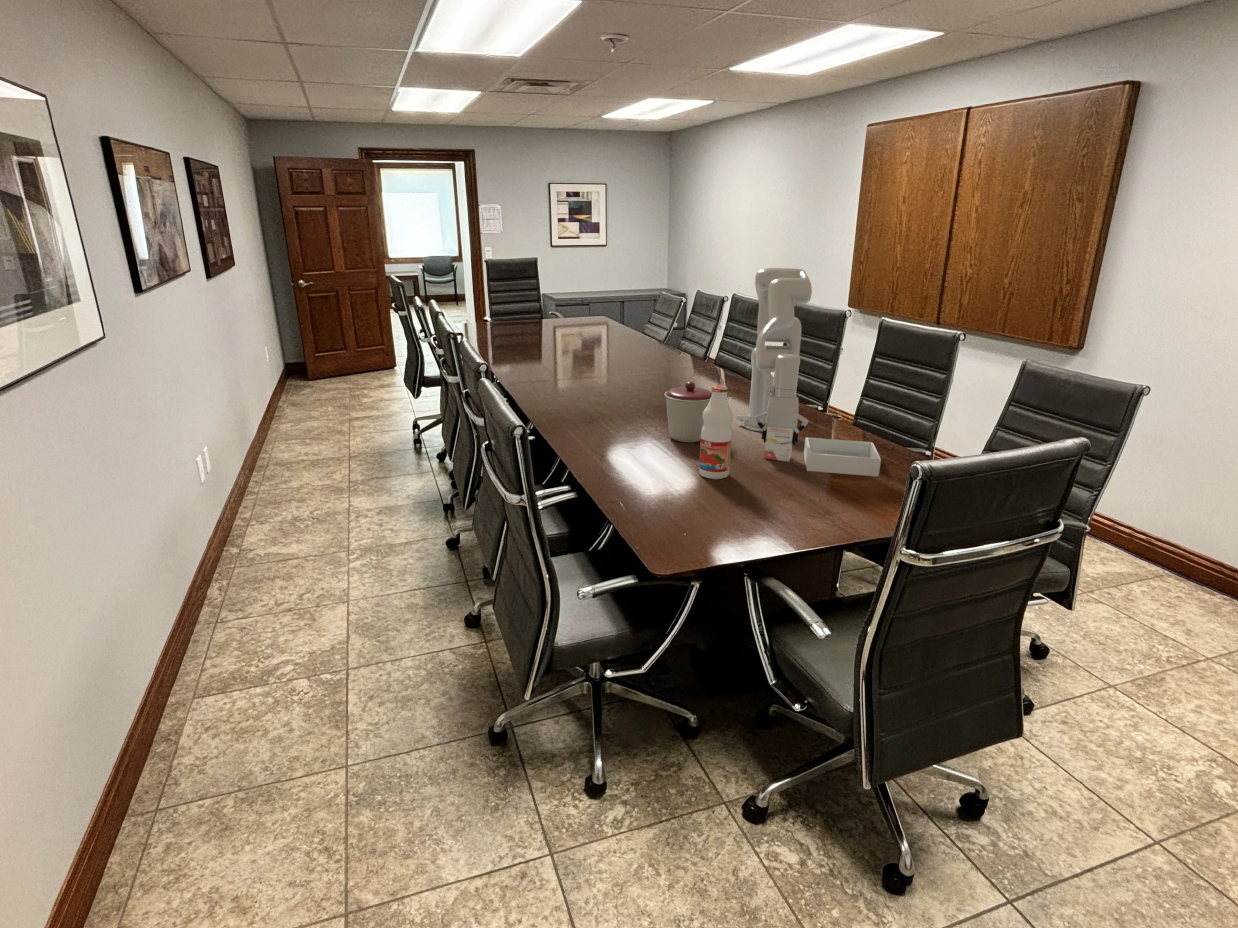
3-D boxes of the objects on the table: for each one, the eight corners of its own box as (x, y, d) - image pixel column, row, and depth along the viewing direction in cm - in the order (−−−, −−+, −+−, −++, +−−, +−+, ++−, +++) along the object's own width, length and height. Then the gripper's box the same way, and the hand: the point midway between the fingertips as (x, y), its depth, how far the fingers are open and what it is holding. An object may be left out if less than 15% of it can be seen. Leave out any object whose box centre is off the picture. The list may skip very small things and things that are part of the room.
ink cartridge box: (763, 458, 232) (767, 416, 227) (765, 454, 236) (769, 412, 231) (789, 462, 229) (794, 419, 224) (791, 457, 234) (795, 415, 229)
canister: (718, 435, 256) (722, 379, 249) (703, 449, 241) (706, 390, 234) (672, 429, 264) (675, 374, 257) (655, 441, 248) (657, 384, 241)
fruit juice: (734, 475, 217) (742, 387, 207) (715, 482, 211) (722, 392, 201) (711, 467, 223) (717, 382, 214) (692, 473, 217) (697, 386, 208)
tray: (806, 470, 222) (808, 453, 220) (803, 453, 238) (805, 437, 237) (878, 476, 218) (881, 459, 216) (870, 458, 235) (872, 442, 233)
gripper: (757, 393, 223) (752, 443, 229) (812, 396, 220) (806, 448, 226) (757, 388, 230) (753, 437, 236) (810, 391, 227) (805, 441, 233)
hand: (779, 442), depth 231 cm, fingers closed on ink cartridge box, 9 cm apart
